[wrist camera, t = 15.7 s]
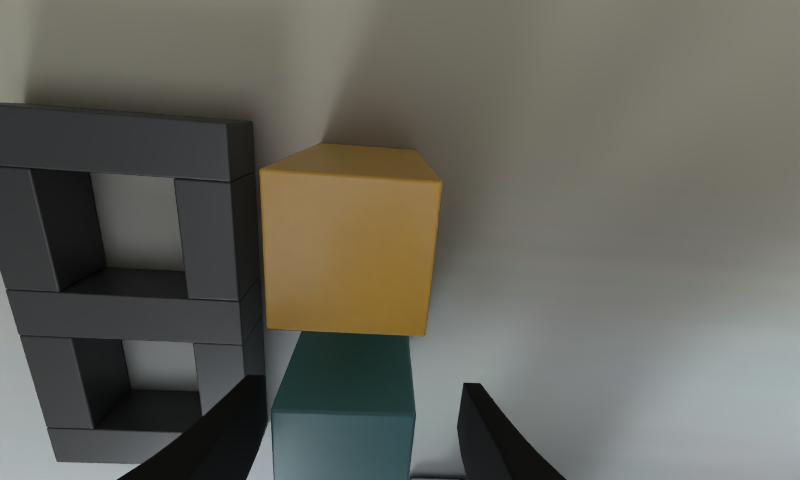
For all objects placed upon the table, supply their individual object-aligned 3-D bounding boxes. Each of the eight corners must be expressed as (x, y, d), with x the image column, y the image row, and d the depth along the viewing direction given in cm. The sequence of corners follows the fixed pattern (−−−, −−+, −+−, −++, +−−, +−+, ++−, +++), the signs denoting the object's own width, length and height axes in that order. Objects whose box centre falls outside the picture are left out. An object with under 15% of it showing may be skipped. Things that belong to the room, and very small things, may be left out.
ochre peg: (408, 241, 16) (425, 337, 9) (318, 235, 16) (265, 330, 9) (417, 149, 15) (443, 181, 8) (319, 142, 15) (257, 167, 8)
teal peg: (398, 362, 19) (404, 516, 11) (318, 359, 18) (274, 514, 11) (404, 291, 17) (416, 415, 10) (318, 286, 17) (269, 409, 10)
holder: (267, 424, 19) (251, 467, 17) (97, 419, 19) (56, 462, 17) (252, 121, 15) (226, 122, 12) (21, 103, 14) (-52, 101, 12)
